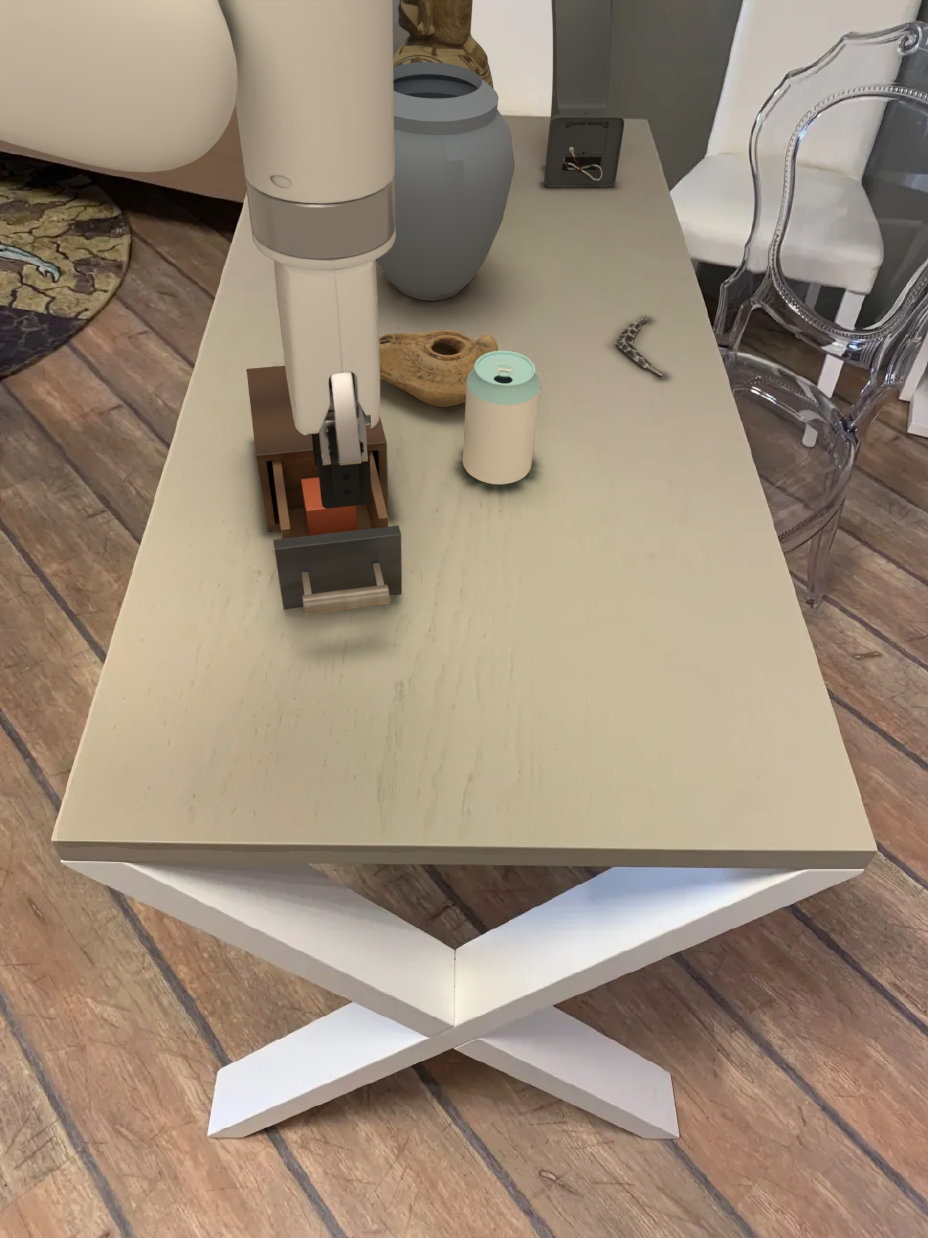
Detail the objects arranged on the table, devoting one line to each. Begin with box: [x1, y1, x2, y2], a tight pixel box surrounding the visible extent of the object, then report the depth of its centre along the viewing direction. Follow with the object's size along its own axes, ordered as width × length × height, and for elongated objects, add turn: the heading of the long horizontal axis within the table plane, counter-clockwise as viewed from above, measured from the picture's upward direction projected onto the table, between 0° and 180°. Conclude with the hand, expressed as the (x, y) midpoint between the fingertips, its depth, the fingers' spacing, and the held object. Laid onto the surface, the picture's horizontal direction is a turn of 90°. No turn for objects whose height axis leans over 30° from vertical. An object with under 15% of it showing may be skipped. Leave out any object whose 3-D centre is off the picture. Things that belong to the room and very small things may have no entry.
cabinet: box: [246, 365, 390, 532], centre depth 91 cm, size 14×12×9 cm
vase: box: [376, 62, 515, 302], centre depth 112 cm, size 20×20×24 cm
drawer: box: [272, 451, 403, 615], centre depth 82 cm, size 17×10×7 cm, turn 12°
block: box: [301, 477, 357, 536], centre depth 86 cm, size 4×4×4 cm
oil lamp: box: [379, 329, 499, 408], centre depth 103 cm, size 11×15×8 cm
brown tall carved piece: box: [393, 0, 495, 90], centre depth 131 cm, size 19×21×30 cm
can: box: [462, 350, 542, 485], centre depth 93 cm, size 7×7×12 cm
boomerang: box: [614, 316, 664, 377], centre depth 113 cm, size 13×1×5 cm
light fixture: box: [543, 0, 625, 188], centre depth 139 cm, size 11×17×24 cm, turn 6°
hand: (342, 480), depth 62 cm, fingers open, 3 cm apart
